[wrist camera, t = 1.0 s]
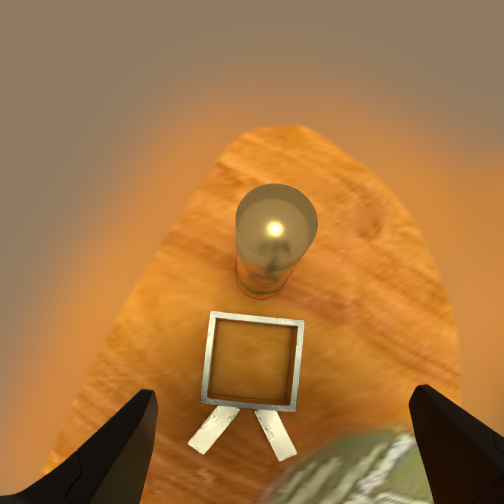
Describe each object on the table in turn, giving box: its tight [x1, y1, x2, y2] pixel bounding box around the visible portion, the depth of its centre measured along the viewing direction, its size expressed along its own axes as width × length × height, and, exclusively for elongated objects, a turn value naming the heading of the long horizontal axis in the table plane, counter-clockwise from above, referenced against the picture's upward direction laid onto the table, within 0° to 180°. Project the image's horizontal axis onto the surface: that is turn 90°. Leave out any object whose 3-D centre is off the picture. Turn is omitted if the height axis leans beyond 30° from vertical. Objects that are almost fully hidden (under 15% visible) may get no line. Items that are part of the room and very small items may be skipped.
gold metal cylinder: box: [236, 184, 318, 299], centre depth 19 cm, size 4×4×11 cm
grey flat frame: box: [188, 311, 304, 462], centre depth 21 cm, size 11×8×2 cm
